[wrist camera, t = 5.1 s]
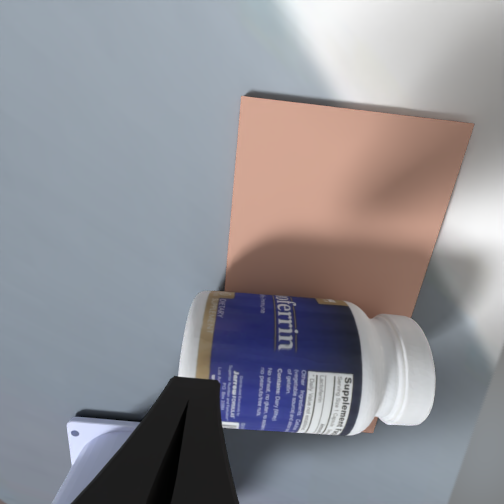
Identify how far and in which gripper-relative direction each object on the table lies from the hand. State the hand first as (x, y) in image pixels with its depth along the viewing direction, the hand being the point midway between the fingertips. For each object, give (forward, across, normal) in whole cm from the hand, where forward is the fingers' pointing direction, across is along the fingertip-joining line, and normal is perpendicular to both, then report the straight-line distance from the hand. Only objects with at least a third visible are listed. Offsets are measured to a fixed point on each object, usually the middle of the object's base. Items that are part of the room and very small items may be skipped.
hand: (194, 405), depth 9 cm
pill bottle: (+5, +1, +2) cm, 5 cm away
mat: (+8, -5, 0) cm, 9 cm away
